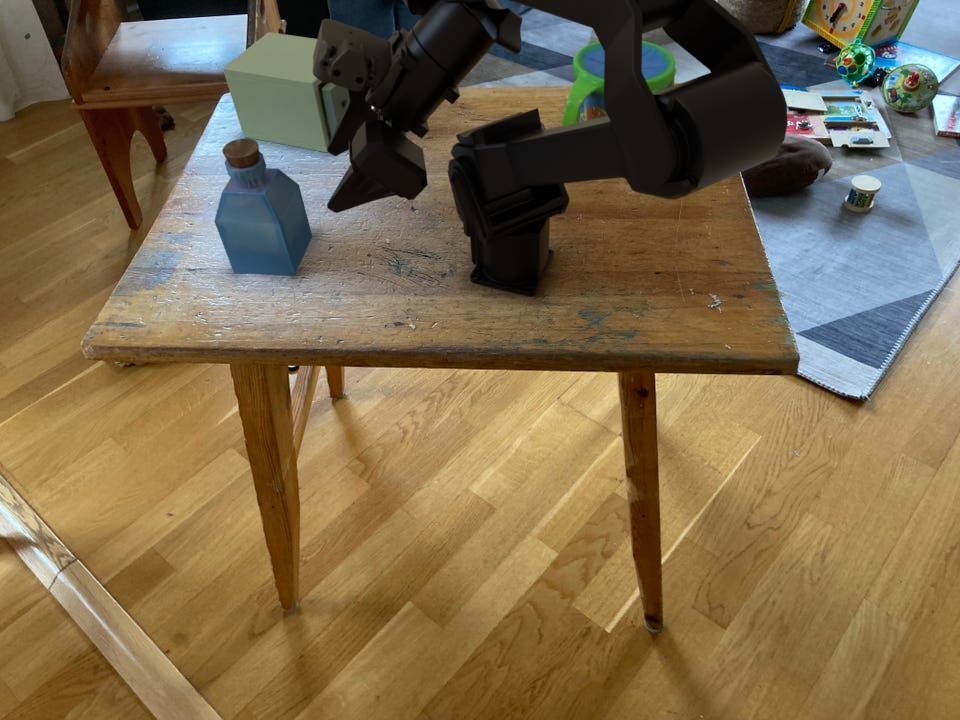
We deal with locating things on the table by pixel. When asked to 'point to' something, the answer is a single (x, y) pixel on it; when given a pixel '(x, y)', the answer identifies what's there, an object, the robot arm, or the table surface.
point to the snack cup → (590, 79)
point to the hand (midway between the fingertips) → (331, 180)
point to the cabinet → (279, 92)
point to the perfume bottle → (260, 214)
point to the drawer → (332, 103)
